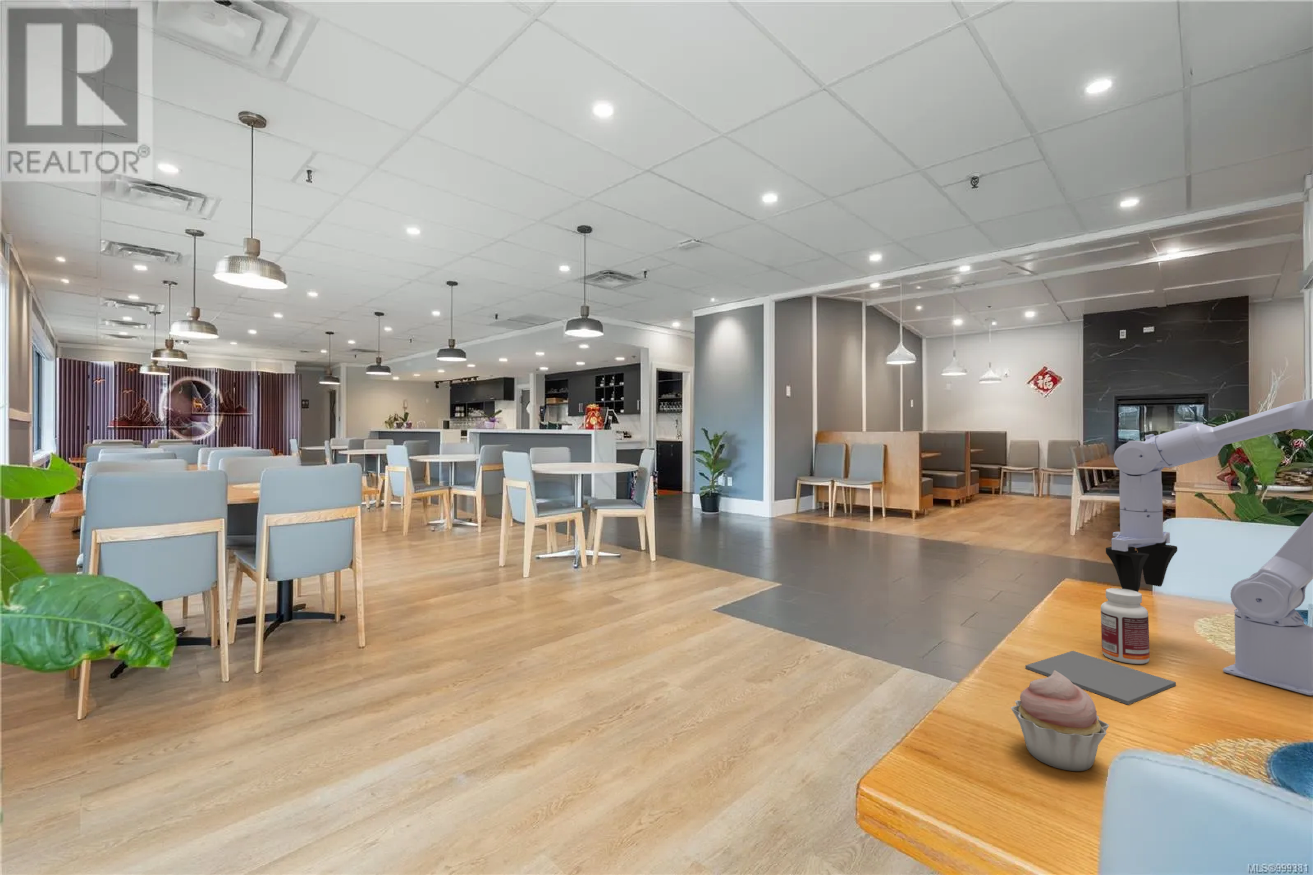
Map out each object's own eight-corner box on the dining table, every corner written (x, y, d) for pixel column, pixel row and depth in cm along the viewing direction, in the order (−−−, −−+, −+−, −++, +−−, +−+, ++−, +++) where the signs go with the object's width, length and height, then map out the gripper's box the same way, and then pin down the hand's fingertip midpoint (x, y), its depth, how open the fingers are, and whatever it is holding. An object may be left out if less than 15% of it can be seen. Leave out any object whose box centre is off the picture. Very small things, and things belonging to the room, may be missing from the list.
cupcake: (1067, 734, 72) (1065, 654, 72) (1131, 778, 62) (1129, 687, 62) (994, 737, 72) (993, 657, 71) (1048, 782, 62) (1046, 690, 62)
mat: (1175, 685, 85) (1175, 682, 85) (1128, 704, 79) (1128, 701, 79) (1072, 653, 97) (1072, 650, 97) (1025, 668, 92) (1025, 665, 92)
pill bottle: (1152, 657, 95) (1150, 591, 95) (1147, 668, 91) (1146, 599, 91) (1104, 648, 99) (1103, 584, 99) (1098, 658, 95) (1097, 592, 95)
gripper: (1136, 504, 106) (1137, 577, 106) (1091, 510, 100) (1092, 588, 100) (1184, 508, 100) (1185, 586, 100) (1139, 515, 94) (1140, 598, 94)
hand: (1142, 588), depth 100 cm, fingers open, 7 cm apart
